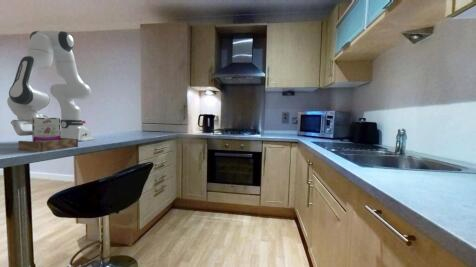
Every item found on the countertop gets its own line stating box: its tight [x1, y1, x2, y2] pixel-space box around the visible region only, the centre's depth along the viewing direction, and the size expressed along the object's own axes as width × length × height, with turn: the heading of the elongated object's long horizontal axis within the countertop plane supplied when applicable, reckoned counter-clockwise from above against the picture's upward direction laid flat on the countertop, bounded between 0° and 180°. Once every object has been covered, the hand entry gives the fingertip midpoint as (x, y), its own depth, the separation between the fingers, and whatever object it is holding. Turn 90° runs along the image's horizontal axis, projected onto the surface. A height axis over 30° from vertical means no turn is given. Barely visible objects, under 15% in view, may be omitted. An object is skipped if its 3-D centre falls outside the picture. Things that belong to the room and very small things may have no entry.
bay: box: [18, 138, 79, 152], centre depth 126 cm, size 21×13×4 cm, turn 170°
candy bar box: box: [31, 117, 61, 142], centre depth 123 cm, size 11×5×16 cm, turn 138°
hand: (45, 139), depth 126 cm, fingers closed
